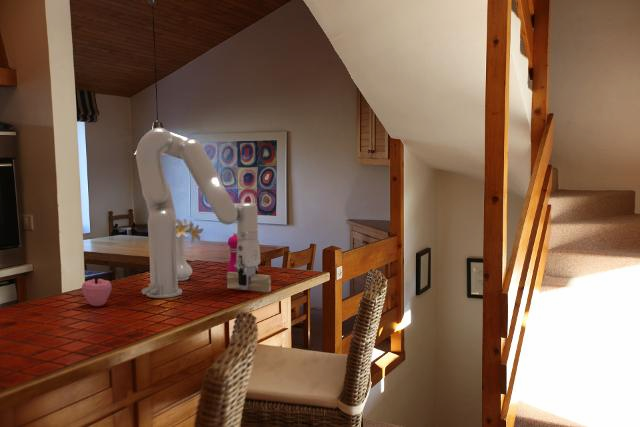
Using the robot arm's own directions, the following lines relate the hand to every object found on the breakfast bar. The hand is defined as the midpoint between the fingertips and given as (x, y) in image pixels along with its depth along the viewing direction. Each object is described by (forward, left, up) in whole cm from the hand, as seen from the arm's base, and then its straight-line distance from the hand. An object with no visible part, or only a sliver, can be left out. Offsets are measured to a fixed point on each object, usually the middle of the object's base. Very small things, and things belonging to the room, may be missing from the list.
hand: (248, 282), depth 220 cm
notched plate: (0, 0, -2) cm, 2 cm away
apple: (-41, +34, -3) cm, 53 cm away
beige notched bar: (0, 0, -3) cm, 3 cm away
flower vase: (+5, +35, -3) cm, 35 cm away
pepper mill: (+11, +13, -3) cm, 17 cm away
